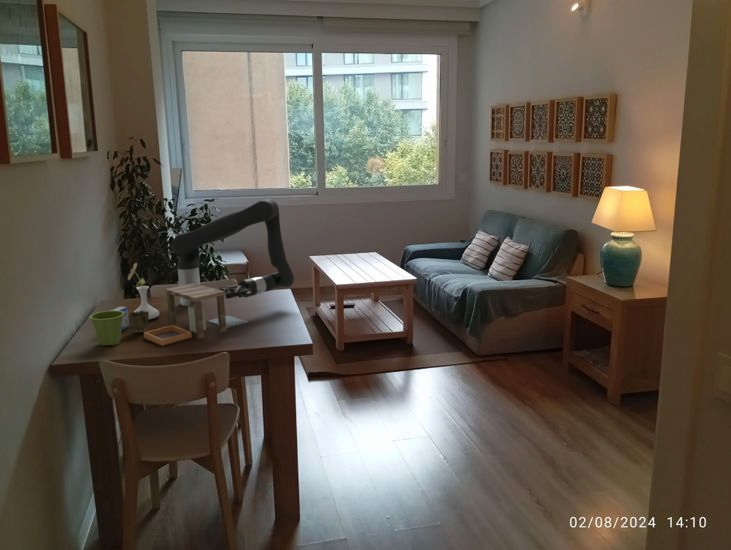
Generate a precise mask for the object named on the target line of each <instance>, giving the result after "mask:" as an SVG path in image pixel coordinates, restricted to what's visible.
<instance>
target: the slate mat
mask: <svg viewBox="0 0 731 550" xmlns="http://www.w3.org/2000/svg"><path fill="white" fill-rule="evenodd" d="M225 318H226V327H227V328H226V329H229V328H228V327H230V328H232V327H231V326H233V327H236V326H235V325H237V326H239V325H238V324H241V325H243V324H242V323H244V324H247V323H246V322H248V321H247V320H244V319H241V318H237V317H234V316H231V315H225ZM210 322H211V323H210ZM207 323H210V324H213V323H214V324H213V325H216V324H217V326H219V322H218V317H217V318H214V319H209V320H207Z"/></svg>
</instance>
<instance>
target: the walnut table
mask: <svg viewBox="0 0 731 550" xmlns="http://www.w3.org/2000/svg"><path fill="white" fill-rule="evenodd" d="M164 291H165V292H164V293H165V294H166V300H167V301H166V302H167V303H166V304H167V313H168V322H169V326H171V325H173V326H176V327H178V325H177V324H178V323H177V322H178V321H177V314H176V304H175V303H176V302H175V297H178V298H180V297H181V298H184V299H187V300H190V306H192V305H194V312H195V323H196V333H195V334H196V339H197V340H199V339H201V340H203V338H204V339H205V331H204V328H203V317H202V306H203V305H202V303H201V301H204V300H208V299H212V298H216V307H217V318H218V322H219V325H218V331H219V333H220V332H221V334H224V333H223V332H225V333H227V332H226V331H227V328H226V318H225V316H226V306H225V296H226V294H225V290H224V291H222V290H218V289H217V288H214V287H211V286H206V285H204V284H200V285H199V284H196V283H192V284H187V285H182V286H179V285H178V286H174V287H173V286H172V287H168V288H165V289H164Z"/></svg>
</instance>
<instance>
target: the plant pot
mask: <svg viewBox="0 0 731 550" xmlns="http://www.w3.org/2000/svg"><path fill="white" fill-rule="evenodd" d="M123 315H124V312H122V311H110V310H104V311H99V312H96V313H95V312H94V313H93V314H91V315H89V319H91V322H92V325H93V326H94V327H93V328H94V330H95V333H96V336H97V340H98V344H99V345H100V344H102V345H107V346H109V345H113V344H116V343H118V344H120V343H121V336H122V335H121V334H122V331H121V323H122V317H123ZM116 345H117V344H116ZM113 346H114V345H113Z"/></svg>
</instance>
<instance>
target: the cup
mask: <svg viewBox="0 0 731 550" xmlns="http://www.w3.org/2000/svg"><path fill="white" fill-rule="evenodd" d="M148 314H149V312H148V311H147V312H146V311H145V312H144V311H140V312H139V313H138V312H136V313H135V312H134V311H131V312H129V314H128V318H129V324H130V326H131V327H132V329H133V330H135V333H136V332H137V334H143V333H144V332H146V328H147V327H148V325H149V320H148ZM142 332H143V333H142Z"/></svg>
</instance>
